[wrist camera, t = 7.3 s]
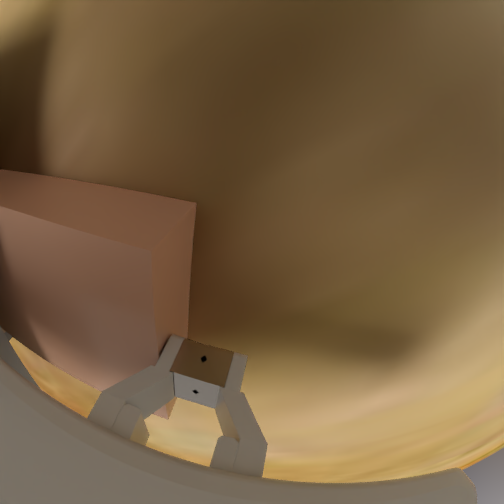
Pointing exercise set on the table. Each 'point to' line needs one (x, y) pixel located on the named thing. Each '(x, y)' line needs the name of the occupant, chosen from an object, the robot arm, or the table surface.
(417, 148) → the table surface
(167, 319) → the tile
